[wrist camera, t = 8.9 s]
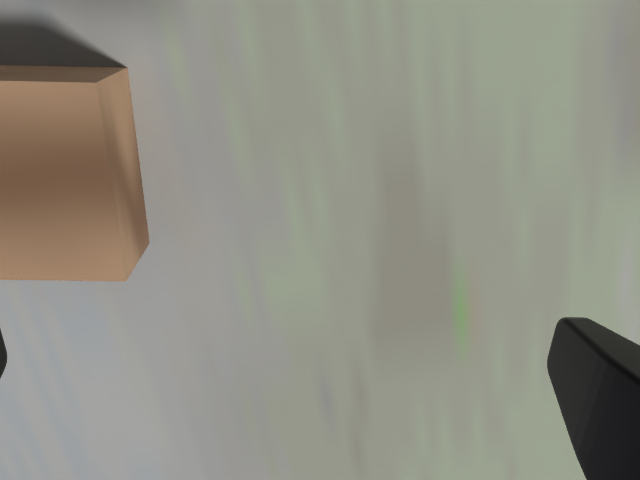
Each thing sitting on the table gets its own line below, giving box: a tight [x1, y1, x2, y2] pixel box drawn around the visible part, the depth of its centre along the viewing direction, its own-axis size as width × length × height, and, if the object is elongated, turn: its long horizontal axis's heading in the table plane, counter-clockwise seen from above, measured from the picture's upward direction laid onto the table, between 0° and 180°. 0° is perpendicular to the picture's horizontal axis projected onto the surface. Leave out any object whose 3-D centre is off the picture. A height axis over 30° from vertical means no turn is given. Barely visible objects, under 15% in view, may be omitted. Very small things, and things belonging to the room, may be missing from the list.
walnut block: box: [0, 65, 149, 281], centre depth 17 cm, size 6×6×3 cm
